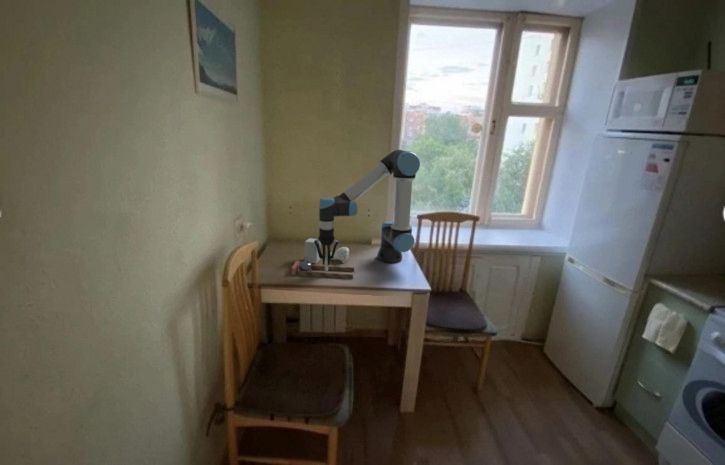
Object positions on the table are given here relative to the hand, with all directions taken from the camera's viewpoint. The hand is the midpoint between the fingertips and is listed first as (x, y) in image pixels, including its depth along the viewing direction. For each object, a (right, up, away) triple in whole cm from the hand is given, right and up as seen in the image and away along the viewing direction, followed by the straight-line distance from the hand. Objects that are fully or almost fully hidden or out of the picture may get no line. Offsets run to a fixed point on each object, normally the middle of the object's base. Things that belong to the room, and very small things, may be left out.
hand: (326, 270), depth 181 cm
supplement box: (-10, +3, +16) cm, 19 cm away
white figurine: (+5, +3, +18) cm, 20 cm away
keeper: (-11, -1, +1) cm, 11 cm away
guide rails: (0, -2, 0) cm, 2 cm away
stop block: (-16, -1, +1) cm, 16 cm away
